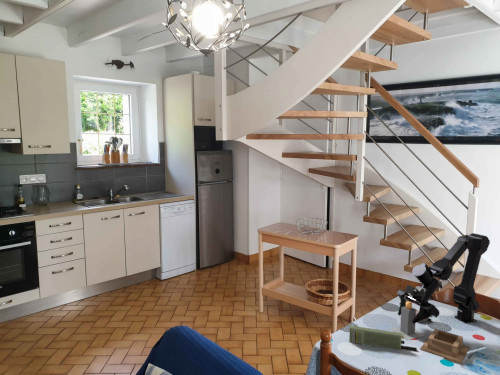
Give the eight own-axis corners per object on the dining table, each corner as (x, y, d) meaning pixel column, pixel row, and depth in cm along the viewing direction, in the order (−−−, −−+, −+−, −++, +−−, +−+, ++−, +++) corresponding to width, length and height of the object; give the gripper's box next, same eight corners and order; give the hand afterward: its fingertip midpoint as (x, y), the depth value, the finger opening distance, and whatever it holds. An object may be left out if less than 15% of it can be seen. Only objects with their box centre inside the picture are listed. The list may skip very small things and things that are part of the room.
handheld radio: (349, 339, 156) (416, 350, 148) (349, 343, 153) (416, 354, 145) (350, 324, 155) (417, 334, 147) (349, 328, 152) (417, 338, 144)
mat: (407, 326, 167) (407, 324, 167) (425, 336, 158) (426, 335, 158) (389, 330, 163) (389, 329, 163) (407, 341, 154) (407, 340, 154)
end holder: (430, 337, 157) (431, 325, 157) (469, 348, 148) (470, 336, 148) (420, 350, 147) (420, 338, 146) (460, 364, 138) (461, 351, 137)
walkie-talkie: (435, 322, 171) (401, 305, 189) (435, 313, 170) (401, 296, 189) (420, 326, 167) (387, 308, 186) (421, 316, 167) (387, 299, 185)
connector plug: (407, 329, 163) (409, 300, 161) (414, 333, 159) (416, 303, 158) (400, 330, 161) (401, 301, 160) (407, 335, 158) (408, 305, 156)
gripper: (400, 271, 168) (379, 299, 165) (435, 286, 151) (413, 317, 148) (413, 286, 172) (393, 313, 169) (449, 302, 155) (427, 333, 152)
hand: (405, 318), depth 159 cm, fingers open, 8 cm apart
